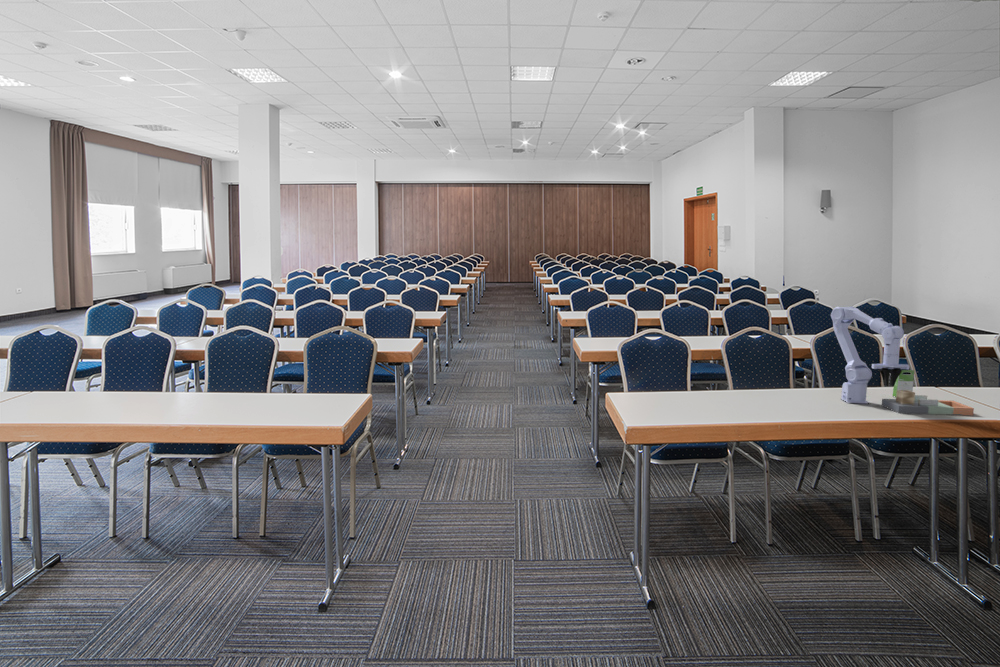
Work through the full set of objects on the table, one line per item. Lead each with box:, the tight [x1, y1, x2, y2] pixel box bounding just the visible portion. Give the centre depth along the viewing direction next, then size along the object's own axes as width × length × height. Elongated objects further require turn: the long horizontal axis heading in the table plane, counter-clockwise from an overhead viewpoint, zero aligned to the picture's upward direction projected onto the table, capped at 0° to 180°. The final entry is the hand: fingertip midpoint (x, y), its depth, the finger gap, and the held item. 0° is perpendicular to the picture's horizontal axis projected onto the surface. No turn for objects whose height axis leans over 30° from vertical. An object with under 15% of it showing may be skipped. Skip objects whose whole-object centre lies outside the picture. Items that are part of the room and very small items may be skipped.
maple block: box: [895, 390, 916, 404], centre depth 280 cm, size 5×5×5 cm
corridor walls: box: [914, 394, 940, 406], centre depth 280 cm, size 8×9×2 cm
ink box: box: [892, 369, 915, 398], centre depth 304 cm, size 7×4×13 cm, turn 84°
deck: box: [881, 398, 975, 416], centre depth 280 cm, size 30×14×3 cm, turn 86°
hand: (889, 385), depth 280 cm, fingers open, 2 cm apart
